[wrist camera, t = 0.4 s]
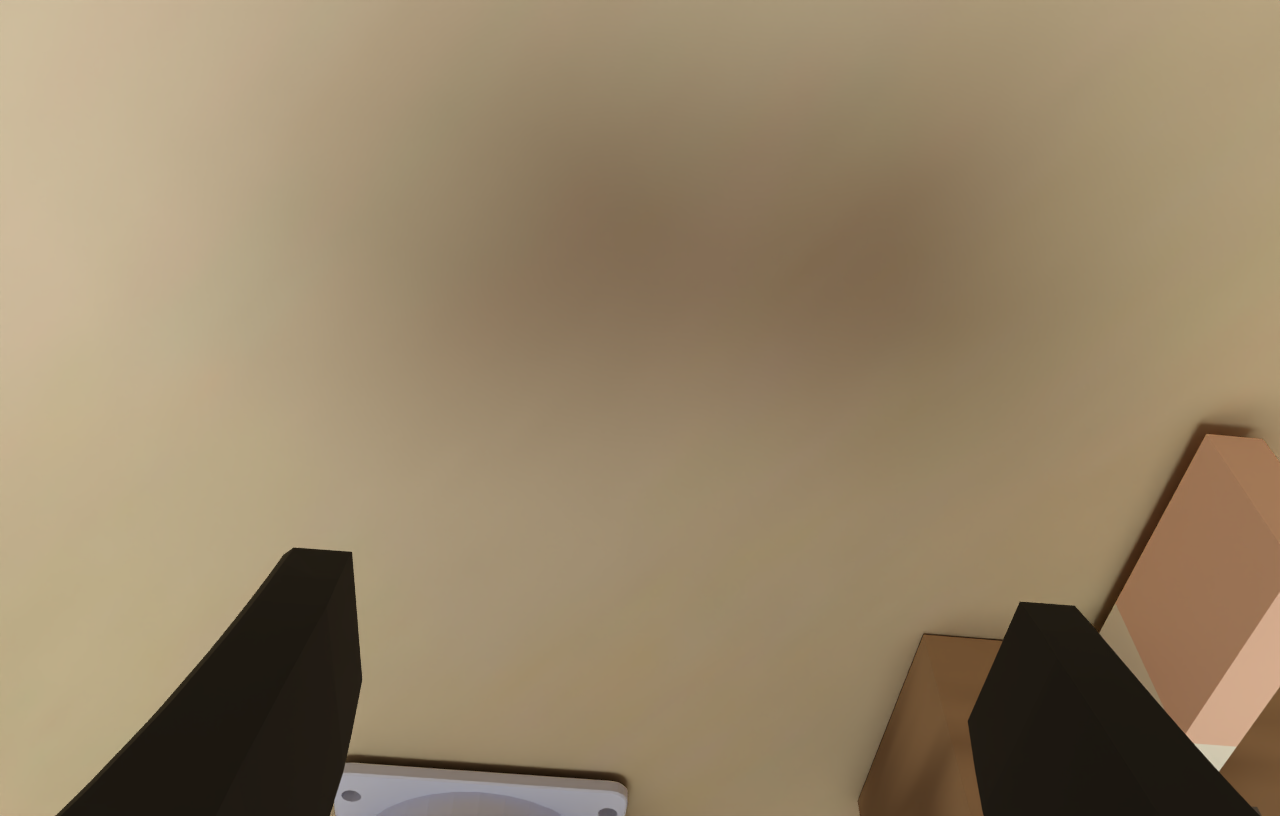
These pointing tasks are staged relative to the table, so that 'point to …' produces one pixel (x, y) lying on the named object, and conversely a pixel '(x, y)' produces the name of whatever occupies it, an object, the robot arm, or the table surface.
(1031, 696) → the robot arm
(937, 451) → the table surface
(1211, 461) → the pink flat bar
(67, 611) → the table surface
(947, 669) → the dispenser
